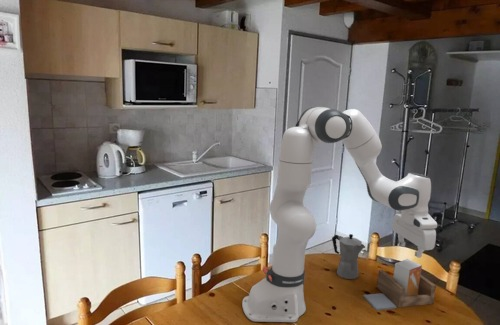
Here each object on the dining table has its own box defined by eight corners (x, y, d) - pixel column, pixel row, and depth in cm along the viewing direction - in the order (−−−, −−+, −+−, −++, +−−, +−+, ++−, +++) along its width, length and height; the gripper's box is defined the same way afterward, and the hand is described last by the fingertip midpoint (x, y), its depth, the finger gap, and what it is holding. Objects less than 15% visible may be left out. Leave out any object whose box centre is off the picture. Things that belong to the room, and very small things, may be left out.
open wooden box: (398, 307, 131) (400, 288, 129) (377, 287, 144) (379, 270, 143) (433, 303, 134) (435, 285, 133) (409, 284, 147) (411, 267, 146)
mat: (376, 310, 128) (376, 308, 128) (363, 296, 137) (363, 294, 137) (396, 308, 130) (396, 306, 130) (382, 295, 139) (382, 293, 138)
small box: (405, 302, 134) (409, 269, 132) (390, 294, 139) (394, 263, 137) (418, 296, 139) (422, 265, 136) (403, 288, 144) (407, 258, 142)
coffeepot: (367, 276, 153) (371, 236, 149) (355, 283, 146) (359, 242, 143) (335, 263, 164) (339, 226, 160) (323, 270, 157) (326, 230, 154)
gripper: (389, 207, 143) (386, 240, 145) (425, 226, 123) (420, 264, 125) (404, 207, 144) (400, 240, 146) (441, 225, 124) (435, 262, 127)
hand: (409, 251), depth 136 cm, fingers open, 8 cm apart
